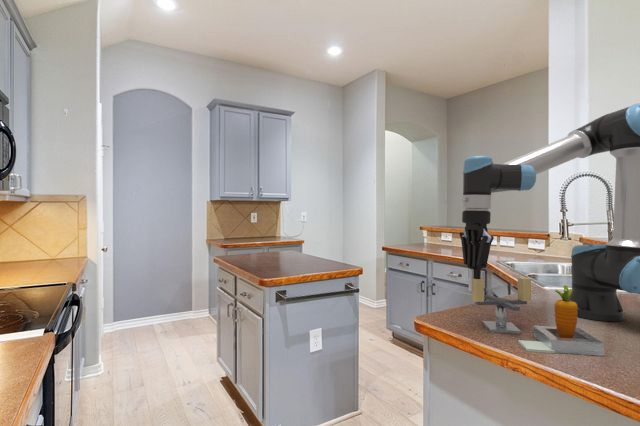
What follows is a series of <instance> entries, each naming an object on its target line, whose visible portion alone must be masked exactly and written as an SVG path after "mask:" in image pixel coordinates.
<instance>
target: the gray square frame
mask: <svg viewBox="0 0 640 426" xmlns="http://www.w3.org/2000/svg"><path fill="white" fill-rule="evenodd" d="M532 331H533V332H532V333H533V335H532V337H533V338H534V339H535V340H536V341H539V342H543V343H544V344H545V345H546V346H548V347H549V348H550V349H551V350H554V351H555V353H554V354H569V355H570V354H571V355H582V356H583V355H585V356H597V357H598V356H599V357H605V355H604V354H605V345H604V342H603V341H601V340H599V339H598V338H596V337H594V336H593V335H591V334H589V333H588V332H586V331H585V330H582V329H581V328H579V327H576V329H575V333H574V336H573V338H560V337H559V334H558V331H557V327H556V326H548V325H547V326H546V325H545V326H544V325H533V326H532Z"/></svg>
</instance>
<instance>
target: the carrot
mask: <svg viewBox="0 0 640 426" xmlns="http://www.w3.org/2000/svg"><path fill="white" fill-rule="evenodd" d="M572 291H573V290H572V288H569V287H568V285H567V284H564V285H563V292H561V290H559V289H554V292H555V293H557V294H558V295H559V296H560V297H561V299H557V300H556V301H555V303H554V319H555V321H554V322H555V325H556V326H555V327H557V331H558V334H559V337H560V338H573V336H574V333H575V329H576V328H577V323H578V316H577V309H578V307H577V304H576V303H575V302H573V301H570V300H569V298H570V296H571V294H572Z"/></svg>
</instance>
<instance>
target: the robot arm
mask: <svg viewBox="0 0 640 426" xmlns="http://www.w3.org/2000/svg"><path fill="white" fill-rule="evenodd" d="M606 152H609V154H610V155H611V156H612V157H614V158H615V182H614V183H615V184H614V204H613V205H614V207H613V226H612V228H613V231H612V239H611V240H609V241H608V242H606V244H604V243H603V244H602V243H601V244H578V245H577V244H576V245H574V246H573V247H572V249H571V255H570V258H571V289H572V290H573V291H572V294H571V296H570V298H569V300H570V301H573V302H575V303H576V304H577V307H578V309H577V318H578V317H579V318H583V319H585V320H586V319H588V320H593V321H599V322H600V321H601V322H621V321H624V319H625V317H624V316H625V311H624V310H623V307H622V304H621V302H620V299H619V296H618V293H617V290H620V291H624V292H626V293H629V294H635V295H640V103H634V104H632V105H630V106H627V107H624V108H621V109H618V110H615V111H613V112H609V113H606V114H604V115H602V116H600V117H598V118H595V119H593V120H592V121H590V122H588V123H586V124H584V125H582V126H580V127H579V128H577V129H575V130H571V131H570V132H569V133H568V134H567V135H566V136H565V137H563V138H561V139H559V140H555V141H554V142H551V143H549V144H546V145H544V146H541V147H539V148H536V149H534V150H532V151H529V152H527V153H524V154H522V155H520V156H518V157H514V158H513V159H510V160H508V161H505V162H502V163H499V164H498V163H493V158H492V156H489V155H474V156H468V157H466V158H465V160H464V163H463V171H462V175H463V176H462V177H463V178H462V180H463V181H462V183H463V184H462V185H463V186H462V187H463V188H462V189H463V190H462V191H463V192H462V195H463V196H462V208H463V209H464V210H463V211H462V213H461V218H462V219H461V222H462V223H463V224H465V227H464V231H463V232H462V231H460V232H459V237H460V240H461V249H462V258H463V259H462V260H463V264H464V266H465V265H467V269H468V277H467V278H468V289H467V290H468V291H469V292H472V291H473V278H474V279H480V278H481V279H482V277H481V275H482V273H481V272H482V269H486V268H487V266H488V260H489V255H490V251H491V247H492V246H491V245H492V243H493V241H494V235H490V234H489V233H488V225H489V224H491V217H492V216H491V211H489V210H490V209H491V208H492V193H493V194H494V193H499V192H501V193H502V192H509V191H510V192H511V191H517V192H521V191H522V192H523V191H529V190H531V189H533V187H534V186H535V184H536V181H537V175H538V174H540V173H544V172H546V171H548V170H550V169H553V168H555V167H558V166H561V165H563V164H565V163H568V162H570V161H572V160H575V159H577V158H579V159H585V158H588V157H590V156H593V155H597V154H602V153H606Z"/></svg>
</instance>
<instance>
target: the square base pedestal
mask: <svg viewBox="0 0 640 426" xmlns="http://www.w3.org/2000/svg"><path fill="white" fill-rule="evenodd" d="M507 310H508V308H506V307H504V306H498V305H495V320H493V321H492V320H482V324H483V327H485V328H486V329H487V330H488V332H489V333H494V334H495V333H500V334H515V335H522V330H521V329H520V328H519V327H517V326H516V325H515V324H514V323H513V322H511V321H509V322H508V321H507V318H508V317H507Z"/></svg>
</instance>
